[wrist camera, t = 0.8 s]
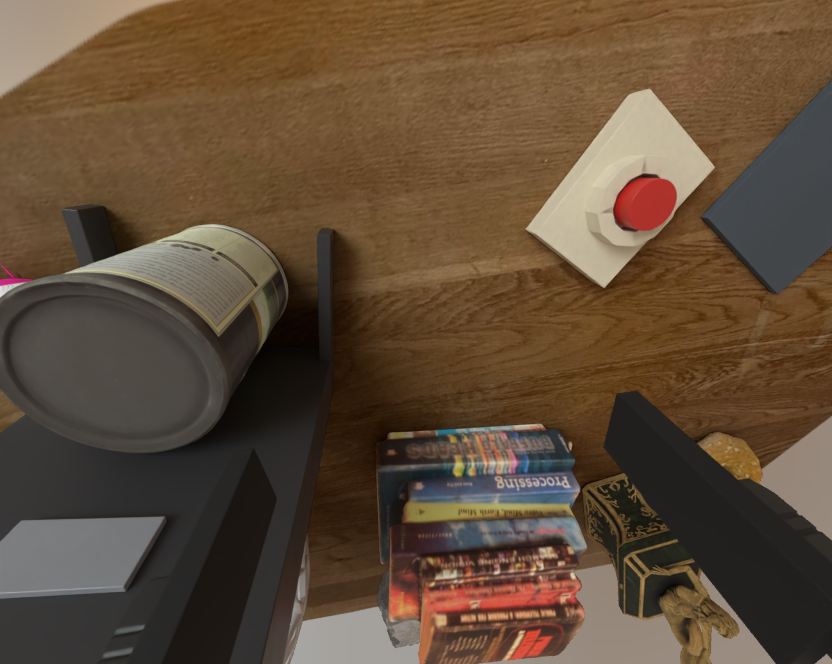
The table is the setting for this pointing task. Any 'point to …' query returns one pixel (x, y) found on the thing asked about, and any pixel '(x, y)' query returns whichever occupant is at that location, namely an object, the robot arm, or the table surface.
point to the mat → (783, 200)
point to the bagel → (732, 455)
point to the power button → (645, 203)
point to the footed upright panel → (156, 499)
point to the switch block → (617, 187)
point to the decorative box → (653, 567)
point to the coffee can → (141, 339)
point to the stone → (401, 630)
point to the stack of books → (481, 540)
